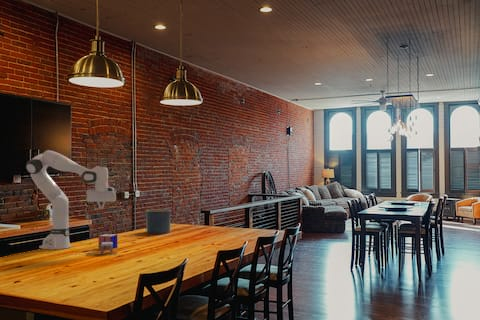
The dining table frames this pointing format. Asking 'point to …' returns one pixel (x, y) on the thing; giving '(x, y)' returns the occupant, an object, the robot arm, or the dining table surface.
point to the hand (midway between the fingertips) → (101, 208)
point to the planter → (158, 221)
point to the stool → (106, 245)
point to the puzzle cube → (108, 240)
